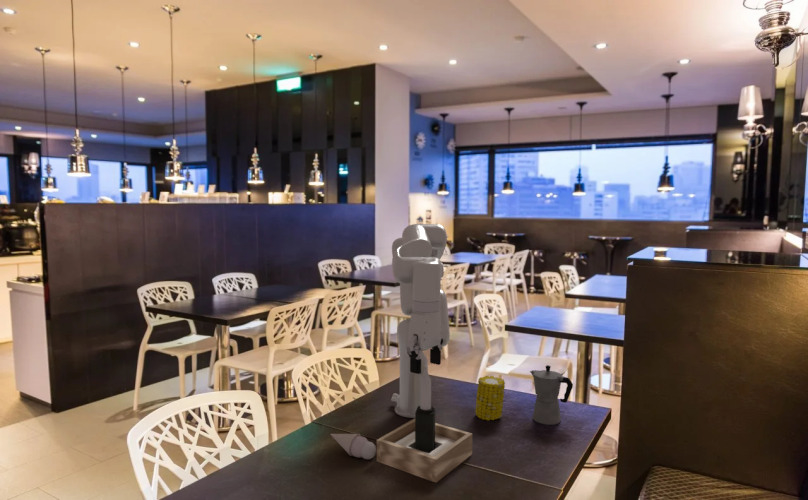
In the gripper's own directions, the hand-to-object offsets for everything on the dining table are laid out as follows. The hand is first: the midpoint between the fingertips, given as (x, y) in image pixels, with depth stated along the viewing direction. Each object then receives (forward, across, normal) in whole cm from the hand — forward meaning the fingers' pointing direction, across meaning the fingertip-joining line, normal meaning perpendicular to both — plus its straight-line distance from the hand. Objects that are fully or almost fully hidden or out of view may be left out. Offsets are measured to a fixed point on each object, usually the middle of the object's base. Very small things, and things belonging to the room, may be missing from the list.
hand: (425, 368), depth 144 cm
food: (+26, -36, +2) cm, 44 cm away
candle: (+25, 0, 0) cm, 25 cm away
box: (+25, +1, 0) cm, 25 cm away
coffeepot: (+26, -45, +19) cm, 55 cm away
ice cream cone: (+25, +11, -17) cm, 33 cm away
